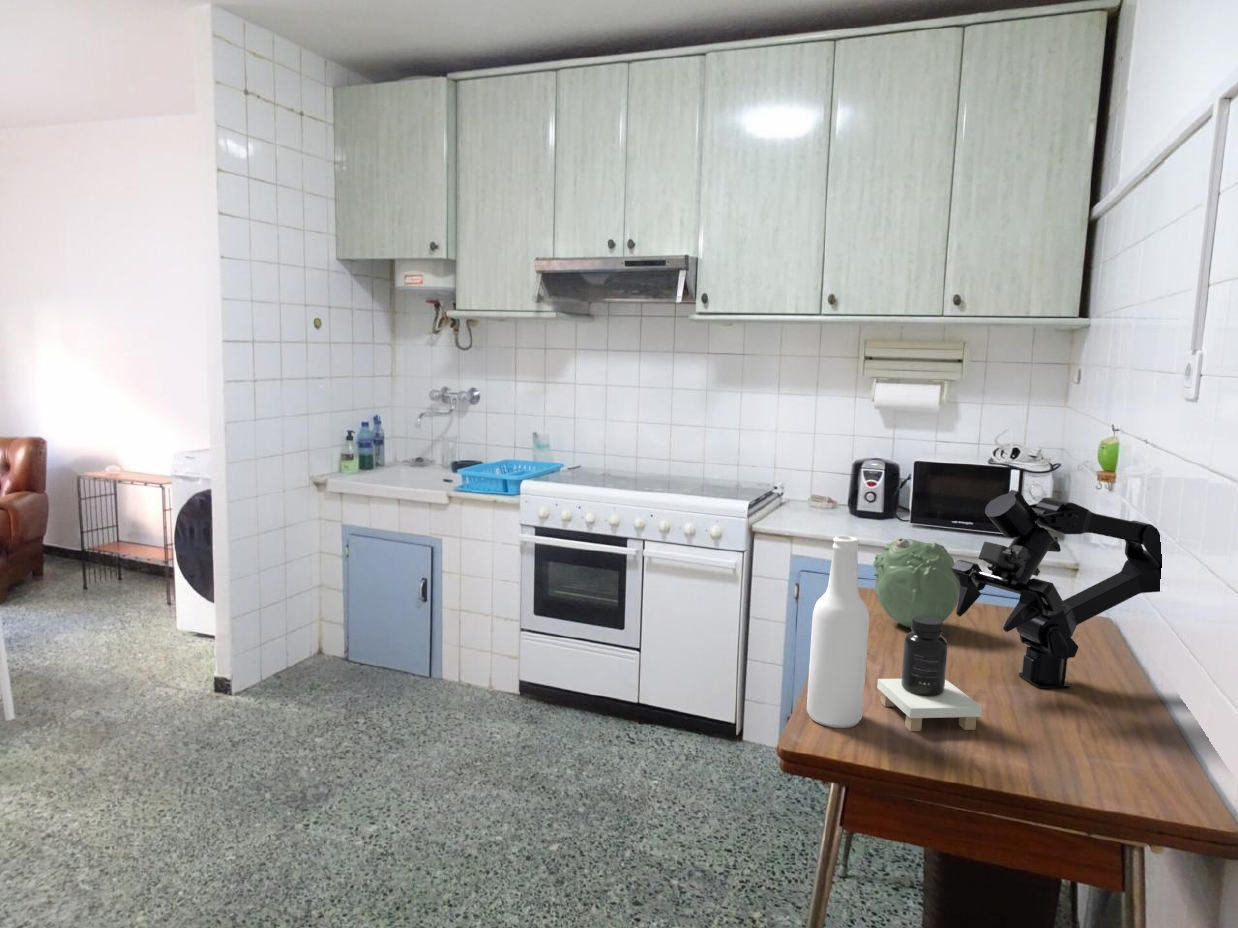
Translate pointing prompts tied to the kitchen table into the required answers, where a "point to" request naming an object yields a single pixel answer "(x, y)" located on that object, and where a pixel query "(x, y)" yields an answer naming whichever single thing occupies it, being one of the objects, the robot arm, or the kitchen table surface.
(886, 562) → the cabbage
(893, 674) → the kitchen table surface
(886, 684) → the white square riser
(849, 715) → the alcohol
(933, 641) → the supplement bottle
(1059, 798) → the kitchen table surface
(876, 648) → the kitchen table surface
